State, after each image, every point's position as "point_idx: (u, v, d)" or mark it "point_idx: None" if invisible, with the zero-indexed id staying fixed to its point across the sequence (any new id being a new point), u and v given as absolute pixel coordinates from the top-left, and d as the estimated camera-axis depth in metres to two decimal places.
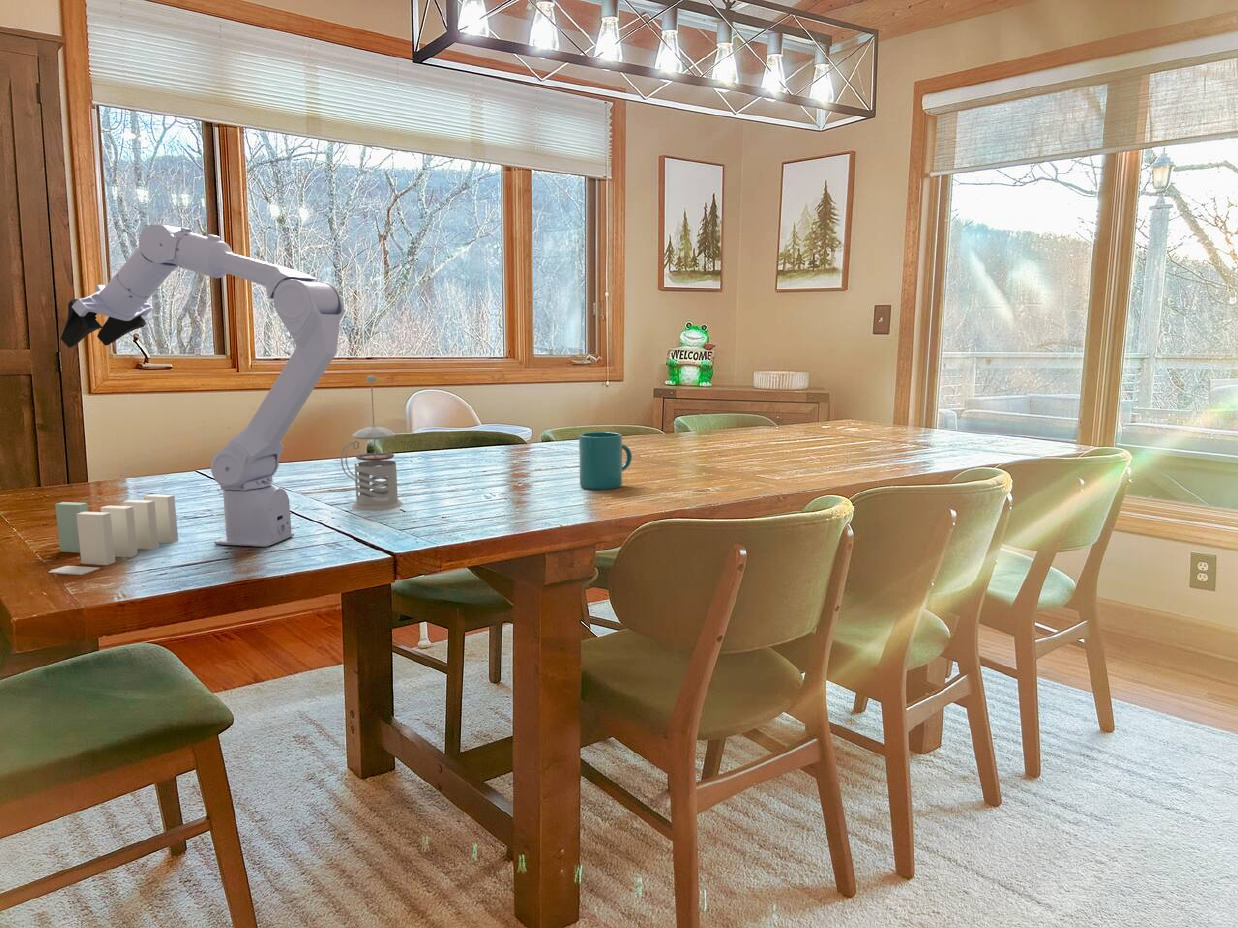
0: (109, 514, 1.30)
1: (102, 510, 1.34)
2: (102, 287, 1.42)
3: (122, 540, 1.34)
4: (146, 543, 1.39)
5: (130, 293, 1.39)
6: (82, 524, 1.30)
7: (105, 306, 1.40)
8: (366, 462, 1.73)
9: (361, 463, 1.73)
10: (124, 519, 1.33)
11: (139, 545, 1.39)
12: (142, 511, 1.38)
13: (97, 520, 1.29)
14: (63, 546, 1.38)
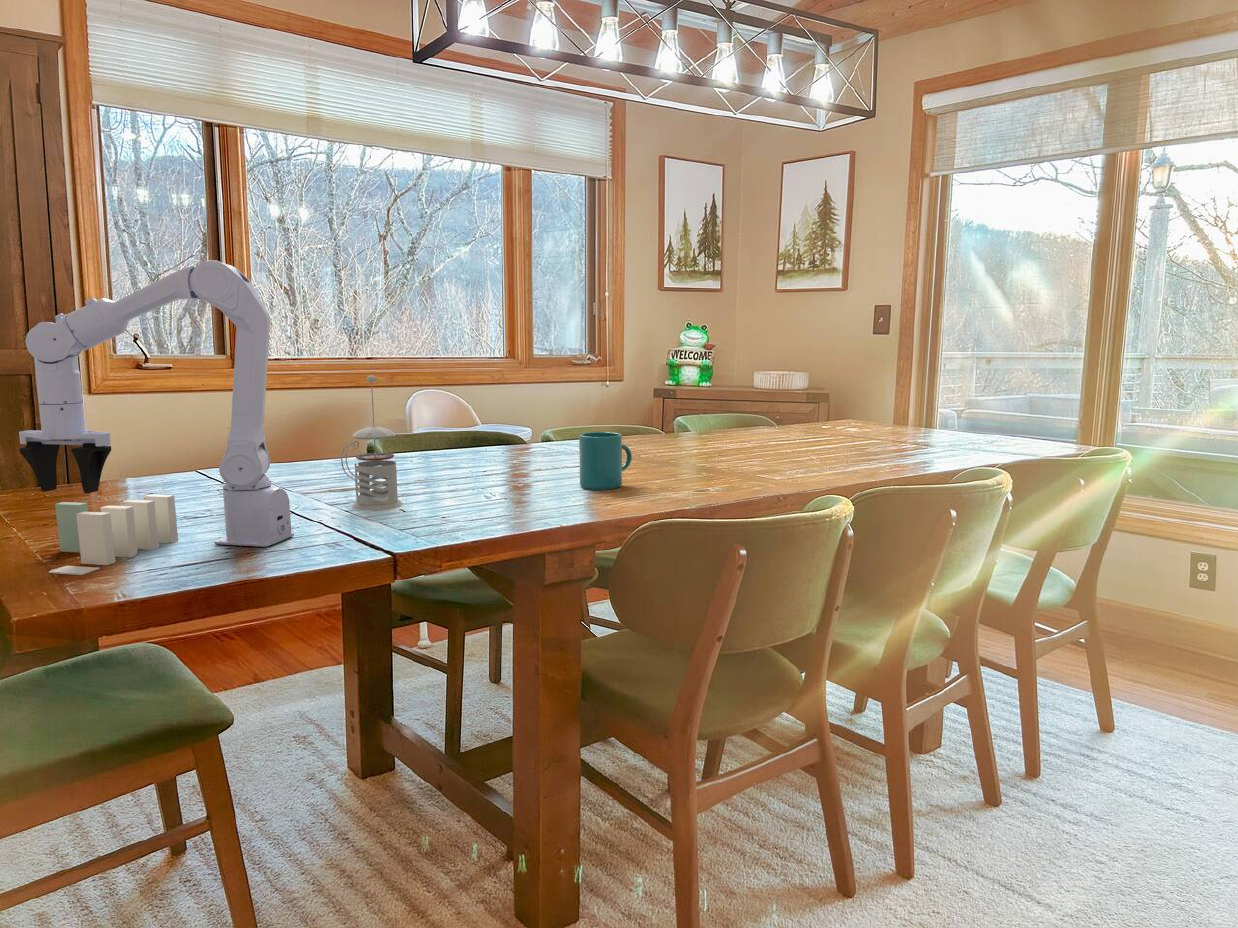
0: (109, 514, 1.30)
1: (102, 510, 1.34)
2: (47, 434, 1.32)
3: (122, 540, 1.34)
4: (146, 543, 1.39)
5: (82, 403, 1.36)
6: (82, 524, 1.30)
7: None
8: (366, 462, 1.73)
9: (361, 463, 1.73)
10: (124, 519, 1.33)
11: (139, 545, 1.39)
12: (142, 511, 1.38)
13: (97, 520, 1.29)
14: (63, 546, 1.38)
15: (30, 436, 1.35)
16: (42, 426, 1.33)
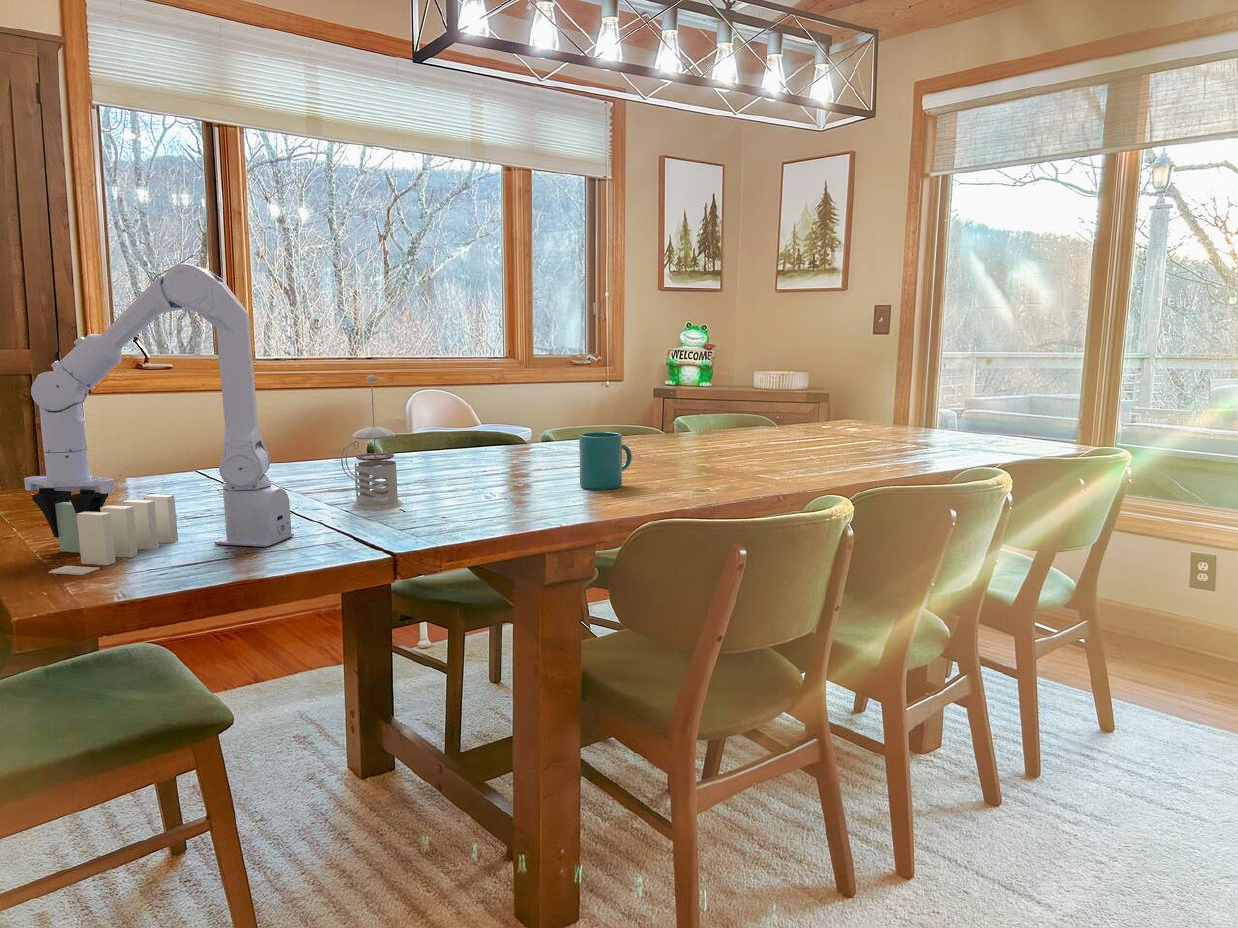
0: (109, 514, 1.30)
1: (102, 510, 1.34)
2: (52, 482, 1.33)
3: (122, 540, 1.34)
4: (146, 543, 1.39)
5: (87, 450, 1.37)
6: (82, 524, 1.30)
7: None
8: (366, 462, 1.73)
9: (361, 463, 1.73)
10: (124, 519, 1.33)
11: (139, 545, 1.39)
12: (142, 511, 1.38)
13: (97, 520, 1.29)
14: (63, 545, 1.38)
15: (35, 483, 1.36)
16: (47, 473, 1.34)
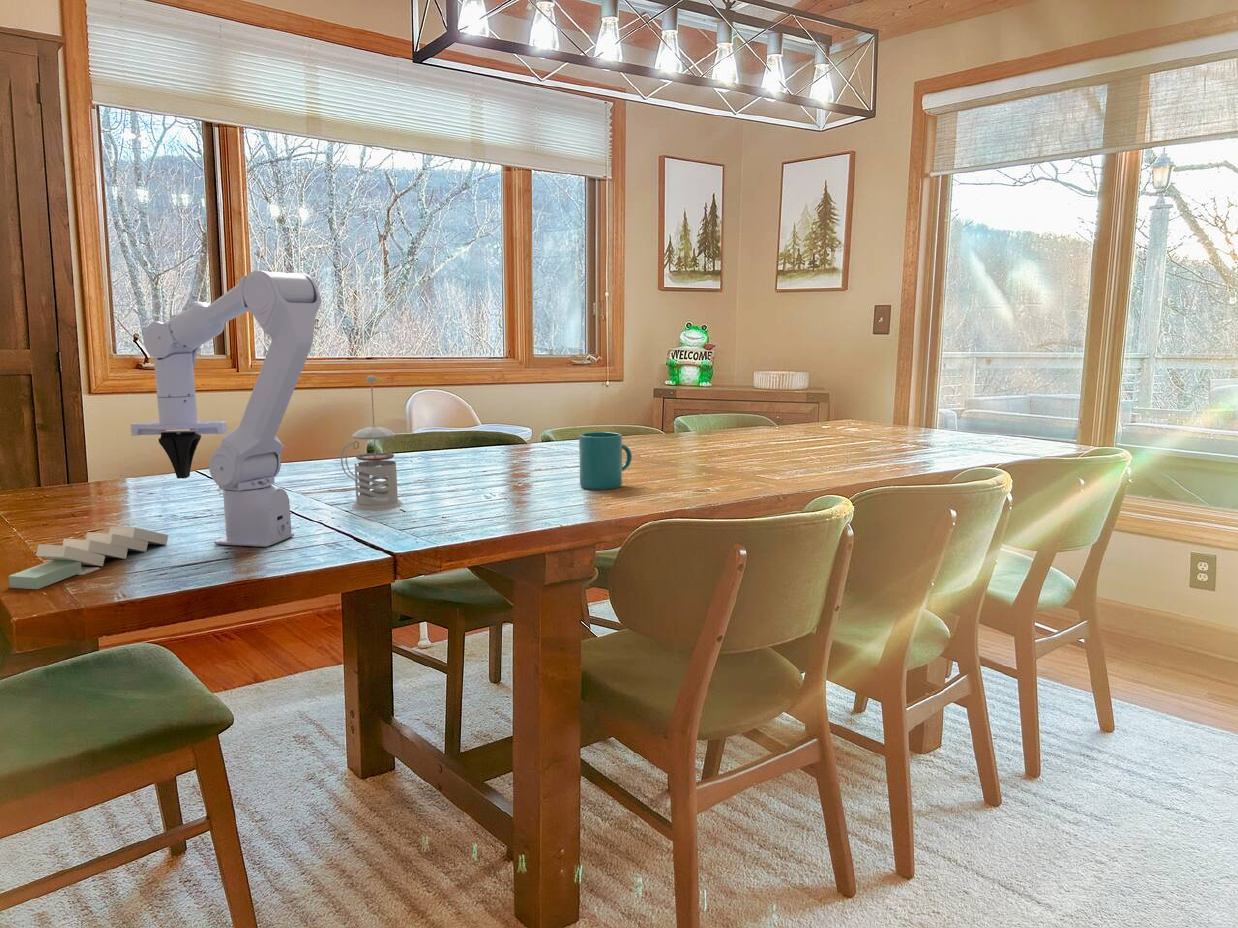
0: (66, 547, 1.23)
1: None
2: (172, 425, 1.44)
3: (107, 555, 1.31)
4: (137, 550, 1.37)
5: None
6: (49, 557, 1.24)
7: (198, 422, 1.48)
8: (366, 462, 1.73)
9: (361, 463, 1.73)
10: (95, 552, 1.28)
11: (132, 550, 1.37)
12: None
13: (62, 557, 1.23)
14: None
15: (146, 427, 1.45)
16: (164, 417, 1.44)
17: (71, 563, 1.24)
